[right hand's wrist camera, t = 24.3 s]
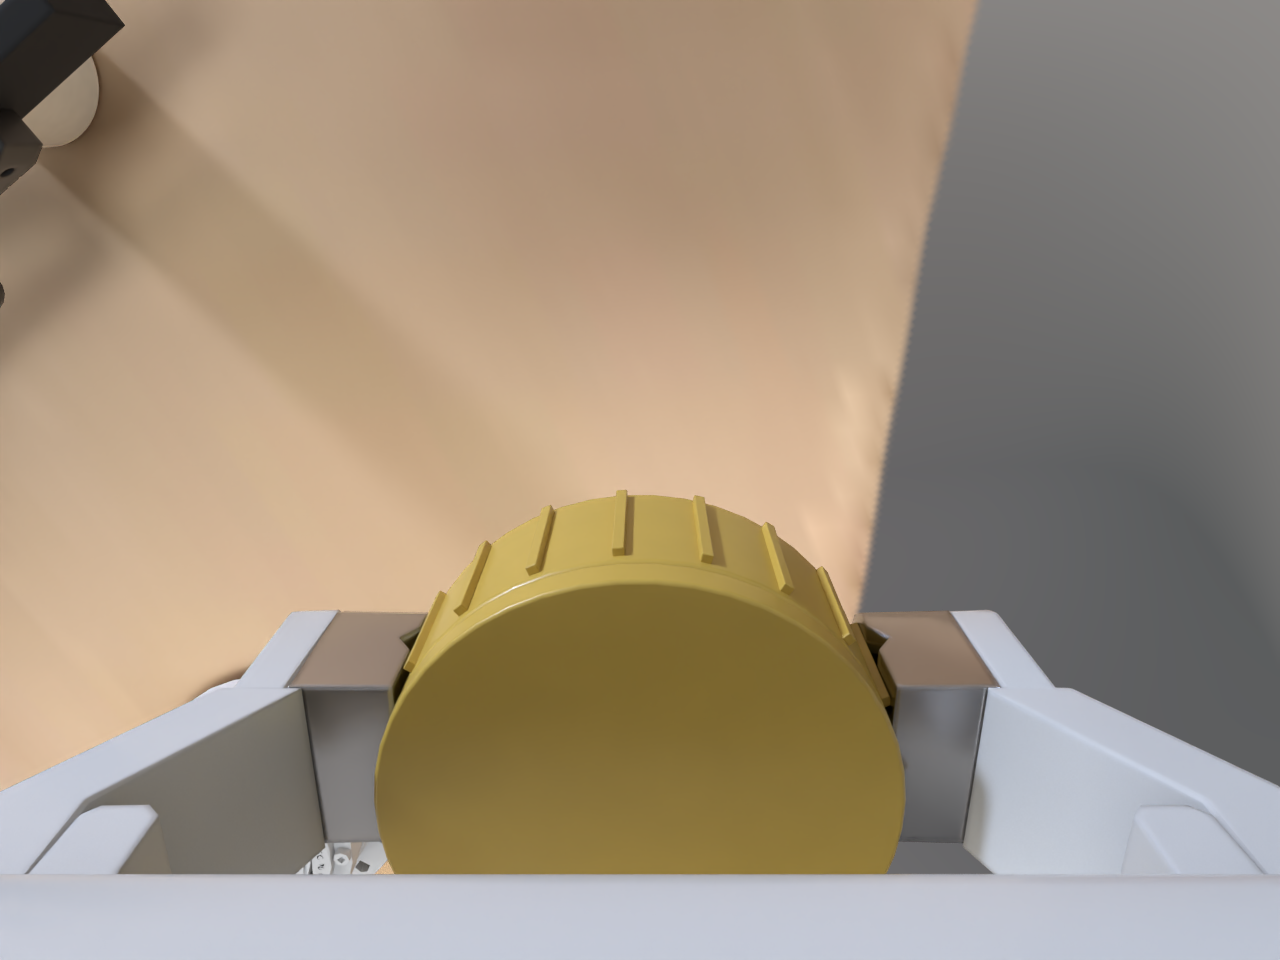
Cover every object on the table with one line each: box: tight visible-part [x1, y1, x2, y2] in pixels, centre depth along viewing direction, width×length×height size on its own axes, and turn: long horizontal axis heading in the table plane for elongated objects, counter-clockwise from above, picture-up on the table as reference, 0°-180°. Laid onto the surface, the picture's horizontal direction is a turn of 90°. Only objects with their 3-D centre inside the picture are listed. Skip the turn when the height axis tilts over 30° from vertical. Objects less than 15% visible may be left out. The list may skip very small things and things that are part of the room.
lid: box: [374, 490, 906, 874], centre depth 9 cm, size 5×5×2 cm
